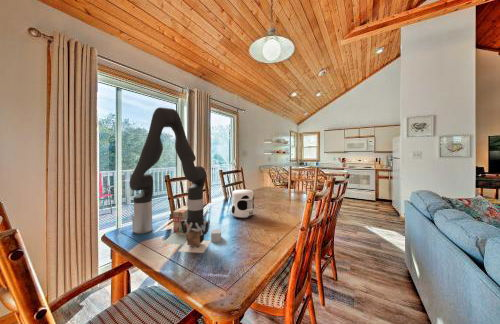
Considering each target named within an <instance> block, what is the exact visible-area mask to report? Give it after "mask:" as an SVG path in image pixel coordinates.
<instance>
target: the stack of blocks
mask: <svg viewBox="0 0 500 324" xmlns="http://www.w3.org/2000/svg"><path fill="white" fill-rule="evenodd" d="M172 214H173V215H172V216H173V217H172V219H173V220H172V222H173V223H172V225H173V230H172V231H173V232H182V233H183V231H182V226H181V221H182V220H183V219H185V220H187V205H183V206H181V207H180V208H178V209H176V210H173V211H172ZM186 227H187V229H188V227H189V225H188V223H186Z"/></svg>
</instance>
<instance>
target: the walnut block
mask: <svg viewBox="0 0 500 324" xmlns="http://www.w3.org/2000/svg"><path fill="white" fill-rule="evenodd" d="M186 235H187V241H186V242H187V245H191V246H199V245H200V244H201V243H200V232H199V231H198V229H195V228H194V229H191V230H190V232H188V233H187V234H186Z"/></svg>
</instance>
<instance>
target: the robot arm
mask: <svg viewBox="0 0 500 324" xmlns="http://www.w3.org/2000/svg"><path fill="white" fill-rule="evenodd" d="M181 119H182V118H181V116H180V114H179V113H178V111H177V110H176V109H174V108H168V107H161V106H160V107H159V106H158V107H157V108H156V109H154V112H153V113H152V118H151V120H150V125H149V130H148V134H147V136H146V139H145V142H144V145H143V147H142V149H141V152H140V156H139V158H138V162H137V164H136V166H135V168H134V170H133V171H132V172H133V173H132V174H131V176H130V179H129V188H130V189H131V190H132V191H136V192H137V191H141V192H140V193H138V194H137V195H135V196H134V197H133V215H132V217H131V218H132V220H131V221H132V225H131V227H132V233H135V234H139V235H140V234H141V235H142V234H146V233H150V232H151V231H152V230H153V196H154V193H153V192H154V179H153V175H152V174H151V173H147V171H148V170H150V169H152V167H154V166H155V165H157V163H158V162H159V160H160V159H161V156H162V153H163V151H164V147H163V143H162V140H161V136H162V133H163V130H164V128H171V130H172V131H173V133H174V137H175V140H174V141H175V142H174V148H175V152H176V154H177V156H178V158H179V161H180V163H181V166H182V168H181V169H182V172H183V175H184V178H185V179H186V180H187V181H188V182H190V183H191V185H190V186H188V189H187V202H186V203H187V205H186V206H187V220H185V219H183V220H182V221H181V226H182V231H183V232H182V233H183V234H185V235H187V233H188V232H190V230H191V229H194V228H195V229H198V231H199V232H200V243H202V242H203V240H204V239H205V235H207V233H209V227H210V223H211V222H210V220H205V219H204V207H205V204H204V187H205V183H206V178H207V173H206V170H205V168H204V167H203V166H201V165H195V161H196V159H197V158H196V155H195V153H194V151H193V149H192V147H191V145H190V144H189V140H188V139H187V135H186V132H185V130H184V129H185V128H184V125H183V122H182V120H181ZM186 223H188V225H189V227H188V229H187V227H186ZM203 224H204V225H203Z"/></svg>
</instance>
